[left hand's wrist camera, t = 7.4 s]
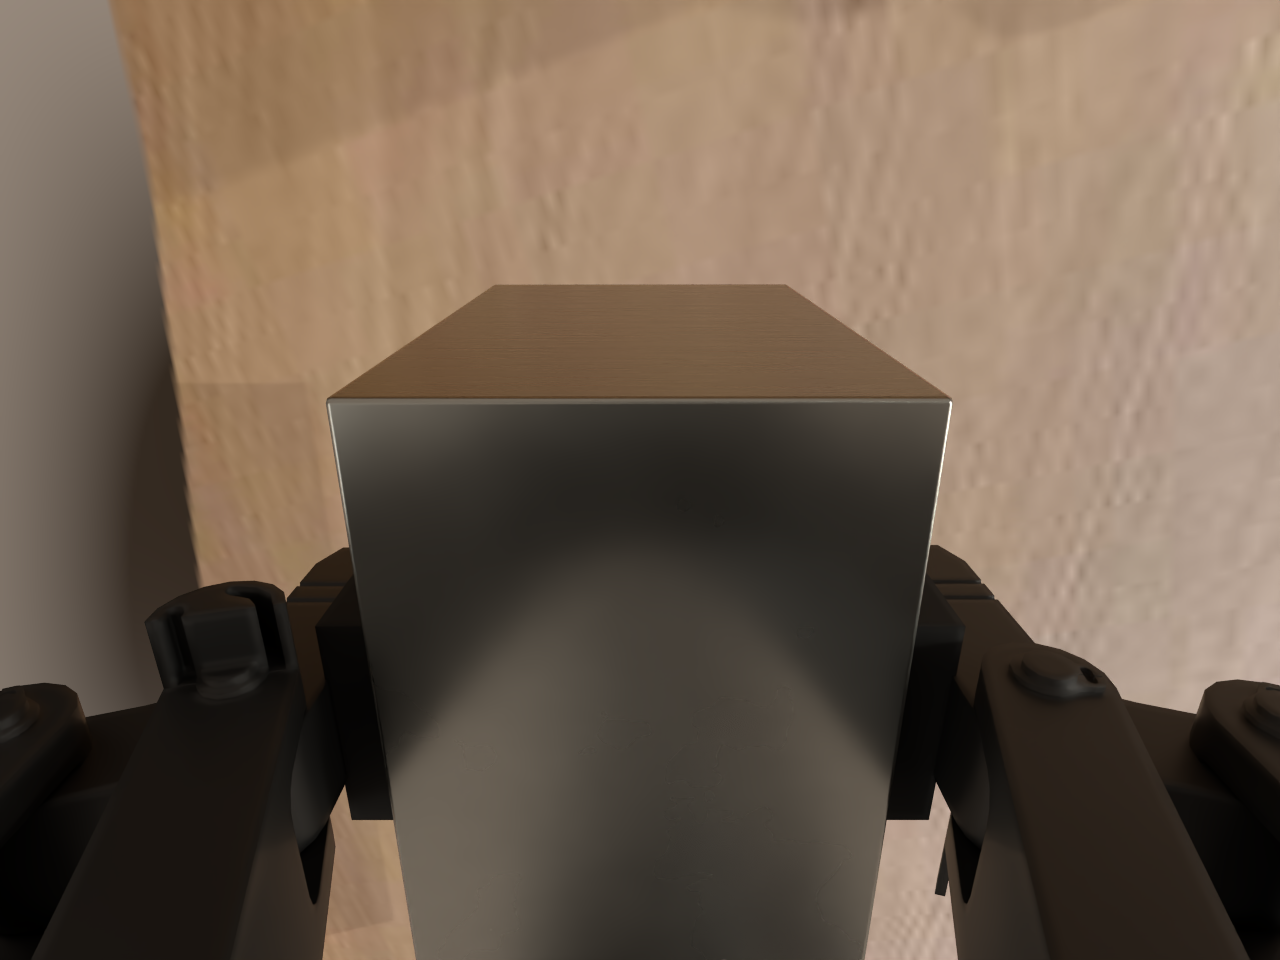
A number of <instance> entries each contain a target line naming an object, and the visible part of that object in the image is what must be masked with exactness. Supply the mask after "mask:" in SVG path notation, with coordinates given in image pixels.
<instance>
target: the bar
mask: <svg viewBox="0 0 1280 960" xmlns="http://www.w3.org/2000/svg"><path fill="white" fill-rule="evenodd" d="M952 404H953V402H952V398H951V397H949V396H948V395H946V394H945V393H944V392H942V391H941V390H939V389H938V388H936V387H935V386H933V385H932V384H930V383H929V382H927V381H926V380H925V379H923V378H922V377H920V376H919V375H917V374H916V373H914V372H913V371H911V370H910V369H909V368H907V367H906V366H904V365H903V364H901V363H900V362H898V361H897V360H895V359H894V358H892V357H891V356H890V355H888V354H887V353H885V352H884V351H882V350H881V349H879V348H878V347H876V346H875V345H874V344H872V343H871V342H869V341H868V340H866V339H865V338H863V337H862V336H860V335H859V334H857V333H856V332H855V331H853V330H852V329H850V328H849V327H847V326H846V325H844V324H843V323H841V322H840V321H838V320H837V319H836V318H834V317H833V316H831V315H830V314H828V313H827V312H825V311H824V310H822V309H821V308H820V307H818V306H817V305H815V304H814V303H812V302H811V301H809V300H808V299H806V298H805V297H803V296H802V295H801V294H799V293H798V292H796V291H795V290H793V289H792V288H790V287H789V286H787V285H494V286H492V287H491V288H489V289H488V290H487V291H485V292H484V293H482V294H481V295H479V296H478V297H476V298H475V299H473V300H472V301H470V302H469V303H467V304H466V305H464V306H463V307H461V308H460V309H458V310H457V311H456V312H454V313H453V314H451V315H450V316H448V317H447V318H445V319H444V320H442V321H441V322H439V323H438V324H436V325H435V326H433V327H432V328H430V329H429V330H427V331H426V332H425V333H423V334H422V335H420V336H419V337H417V338H416V339H414V340H413V341H411V342H410V343H408V344H407V345H405V346H404V347H402V348H401V349H399V350H398V351H396V352H395V353H394V354H392V355H391V356H389V357H388V358H386V359H385V360H383V361H382V362H380V363H379V364H377V365H376V366H374V367H373V368H371V369H370V370H368V371H367V372H365V373H364V374H363V375H361V376H360V377H358V378H357V379H355V380H354V381H352V382H351V383H349V384H348V385H346V386H345V387H343V388H342V389H340V390H339V391H337V392H336V393H334V394H333V395H332V396H330V397H329V398H327V401H326V407H327V413H328V419H329V425H330V431H331V437H332V444H333V450H334V456H335V462H336V468H337V474H338V481H339V487H340V493H341V499H342V505H343V512H344V518H345V524H346V530H347V536H348V542H349V549H350V555H351V561H352V567H353V573H354V579H355V586H356V592H357V598H358V604H359V610H360V616H361V623H362V629H363V635H364V641H365V647H366V653H367V660H368V666H369V672H370V678H371V684H372V690H373V697H374V703H375V709H376V715H377V721H378V728H379V734H380V740H381V746H382V752H383V758H384V765H385V771H386V777H387V783H388V789H389V795H390V802H391V808H392V814H393V820H394V826H395V832H396V839H397V845H398V851H399V857H400V863H401V869H402V876H403V882H404V888H405V894H406V900H407V907H408V913H409V919H410V925H411V931H412V937H413V944H414V950H415V956H416V960H864V959H865V953H866V946H867V940H868V934H869V927H870V921H871V915H872V909H873V902H874V896H875V890H876V883H877V877H878V871H879V864H880V858H881V852H882V845H883V839H884V833H885V827H886V820H887V814H888V808H889V801H890V795H891V789H892V782H893V776H894V770H895V764H896V757H897V751H898V745H899V738H900V732H901V726H902V719H903V713H904V707H905V700H906V694H907V688H908V682H909V675H910V669H911V663H912V656H913V650H914V644H915V637H916V631H917V625H918V619H919V612H920V606H921V600H922V593H923V587H924V581H925V574H926V568H927V562H928V555H929V549H930V543H931V537H932V530H933V524H934V518H935V511H936V505H937V499H938V492H939V486H940V480H941V474H942V467H943V461H944V455H945V448H946V442H947V436H948V429H949V423H950V417H951V410H952Z"/></svg>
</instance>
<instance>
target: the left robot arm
mask: <svg viewBox="0 0 1280 960" xmlns="http://www.w3.org/2000/svg"><path fill="white" fill-rule="evenodd" d="M145 625H146V629H147V632H148V636H149V639H150V643H151V646H152V649H153V653H154V656H155V660H156V663H157V667H158V670H159V674H160V677H161V681H162V684H163V687H164V690H163V692H162V694H161V696H160V698H159V700H158V702H157V703H154V704H150V705H146V706H141V707H136V708H131V709H126V710H121V711H116V712H110V713H105V714H100V715H95V716H90V717H85V715H84V712H83V709H82V707H81V704H80V701H79V698H78V695H77V693H76V692H74V691H73V690H71V689H70V688H69V687H67V686H66V685H59V684H50V683H39V684H31V685H23V686H13V687H9V688H4V689H2V691H0V960H322V957H323V948H324V940H325V931H326V923H327V914H328V906H329V897H330V888H331V880H332V871H333V863H334V854H335V841H334V834H333V829H332V824H331V819H330V814H331V812H332V810H333V808H334V806H335V804H336V802H337V800H338V798H339V796H340V794H341V791H342V789H343V787H344V785H345V787H346V792H347V797H348V802H349V808H350V813H351V818H352V820H393V814H392V808H391V802H390V795H389V789H388V783H387V777H386V771H385V765H384V758H383V752H382V746H381V740H380V734H379V728H378V721H377V715H376V709H375V703H374V697H373V690H372V684H371V678H370V672H369V666H368V660H367V653H366V647H365V641H364V635H363V629H362V623H361V616H360V610H359V604H358V598H357V592H356V586H355V579H354V573H353V567H352V561H351V555H350V549H349V548H342V549H340V550H338V551H337V552H335V553H333V554H332V555H330V556H328V557H327V558H325V559H323V560H322V561H320V562H318V563H316V564H315V566H314V567H313V568H312V569H311V570H310V572H309V573H308V574H307V575H306V576H305V577H304V579H303V580H302V581H301V582H300V586H297V587H296V588H295V589H294V590H293V592H292V593H291V594H290V595H289V596H288V598H287V602H286V600H285V595H284V592H283V591H282V590H280V589H279V588H277V587H276V586H275V585H273V584H269V583H263V582H258V581H234V582H226V583H221V584H216V585H211V586H206V587H203V588H200V589H197V590H195V591H192V592H189V593H186V594H183V595H181V596H178V597H176V598H175V599H173V600H171V601H170V602H168V603H166V604H164V605H163V606H161V607H159V608H158V609H157V610H156V611H155V612H154V613H153V614H152V615H151V616H150V617H149V618H148V619H147V620H146V621H145ZM936 782H937V785H938V787H939V789H940V791H941V793H942V795H943V797H944V799H945V801H946V803H947V805H948V807H949V809H950V811H951V814H950V819H949V824H948V829H947V834H946V838H945V843H944V848H943V853H942V858H941V863H940V868H939V873H938V877H937V883H936V890H935V894H937V895H942V896H945V894H946V889H947V884H948V881H949V887H950V895H951V904H952V912H953V921H954V929H955V938H956V946H957V955H958V960H1280V686H1279V685H1275V684H1270V683H1266V682H1254V681H1246V680H1229V681H1220V682H1216V683H1214V684H1213V685H1211V686H1210V687H1208V688H1207V689H1206V690H1205V691H1204V694H1203V697H1202V700H1201V703H1200V706H1199V709H1198V711H1197V714H1193V713H1187V712H1182V711H1177V710H1172V709H1167V708H1162V707H1156V706H1151V705H1146V704H1141V703H1136V702H1132V701H1128V700H1124V699H1122V698H1121V696H1120V694H1119V692H1118V690H1117V688H1116V687H1115V686H1114V684H1113V683H1112V682H1111V681H1110V679H1109V678H1108V677H1107V676H1106V675H1105V673H1104V672H1102V671H1101V670H1099V669H1098V668H1096V667H1095V666H1093V665H1092V664H1090V663H1089V662H1087V661H1086V660H1084V659H1082V658H1080V657H1077V656H1075V655H1073V654H1070V653H1068V652H1066V651H1063V650H1061V649H1057V648H1053V647H1049V646H1044V645H1040V644H1036V643H1034V642H1033V640H1032V639H1031V638H1030V637H1029V636H1028V635H1027V633H1026V632H1025V631H1024V630H1023V629H1022V628H1021V626H1020V625H1019V624H1018V623H1017V622H1016V621H1015V619H1014V618H1013V617H1012V616H1011V615H1010V613H1009V612H1008V611H1007V610H1006V609H1005V608H1004V606H1003V605H1002V604H1001V603H1000V602H999V601H998V600H995V599H994V595H993V594H992V592H991V591H990V590H989V589H988V588H987V586H986V585H985V584H981V579H980V578H979V577H978V576H977V575H976V574H975V572H974V571H973V570H972V569H971V568H970V567H969V565H968V564H967V563H966V562H965V561H964V560H962V559H960V558H959V557H957V556H955V555H954V554H952V553H950V552H948V551H947V550H945V549H943V548H942V547H940V546H938V545H930V549H929V555H928V562H927V568H926V574H925V581H924V587H923V593H922V600H921V606H920V612H919V619H918V625H917V631H916V637H915V644H914V650H913V656H912V663H911V669H910V675H909V682H908V688H907V694H906V700H905V707H904V713H903V719H902V726H901V732H900V738H899V745H898V751H897V757H896V764H895V770H894V776H893V782H892V789H891V795H890V801H889V808H888V814H887V820H929V816H930V810H931V805H932V800H933V795H934V790H935V784H936Z"/></svg>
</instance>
